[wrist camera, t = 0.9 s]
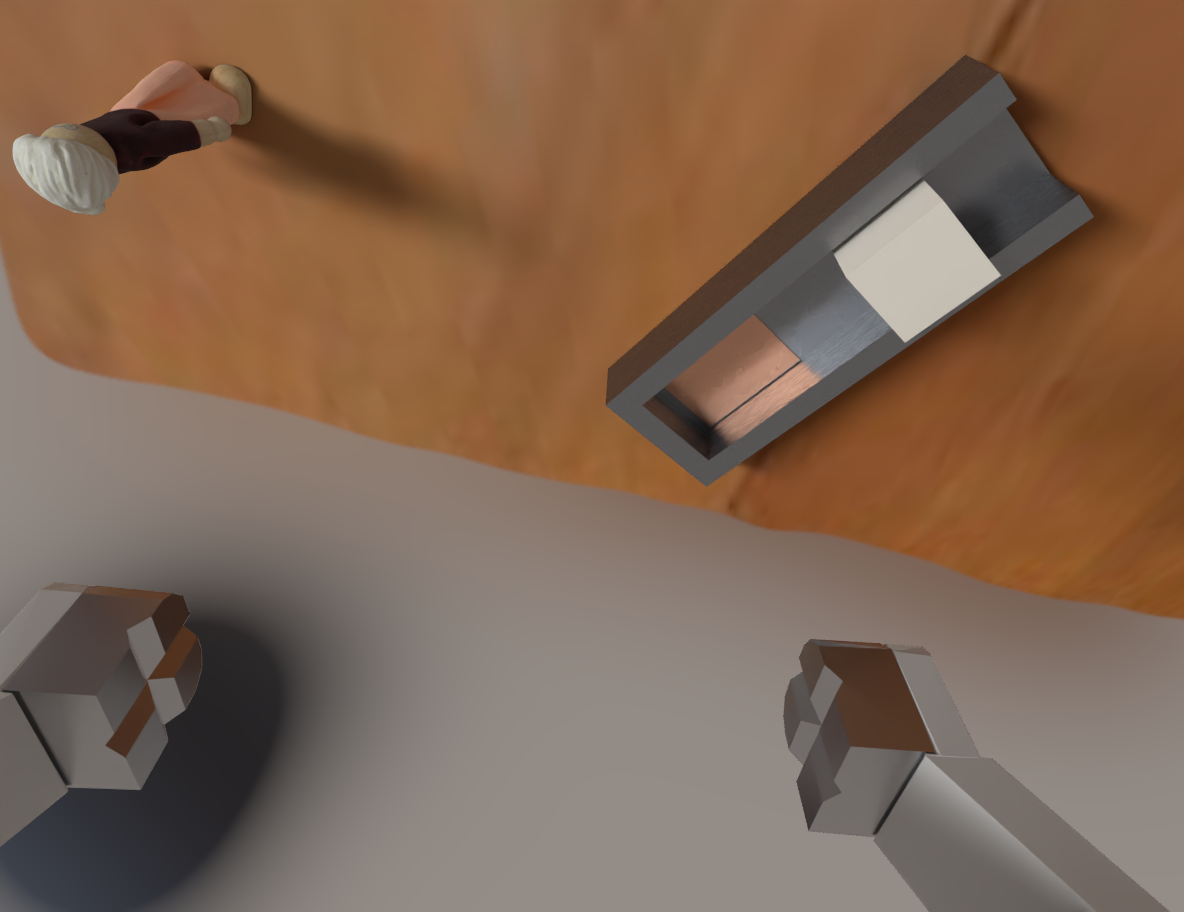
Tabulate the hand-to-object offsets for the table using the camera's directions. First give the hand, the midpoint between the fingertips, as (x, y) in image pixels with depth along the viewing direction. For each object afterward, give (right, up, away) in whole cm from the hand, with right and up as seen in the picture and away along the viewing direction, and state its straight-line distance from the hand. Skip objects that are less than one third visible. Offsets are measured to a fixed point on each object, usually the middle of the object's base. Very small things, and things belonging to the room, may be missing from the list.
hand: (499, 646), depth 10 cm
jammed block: (+17, +14, +28) cm, 36 cm away
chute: (+14, +12, +31) cm, 36 cm away
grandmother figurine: (-19, +21, +27) cm, 39 cm away
